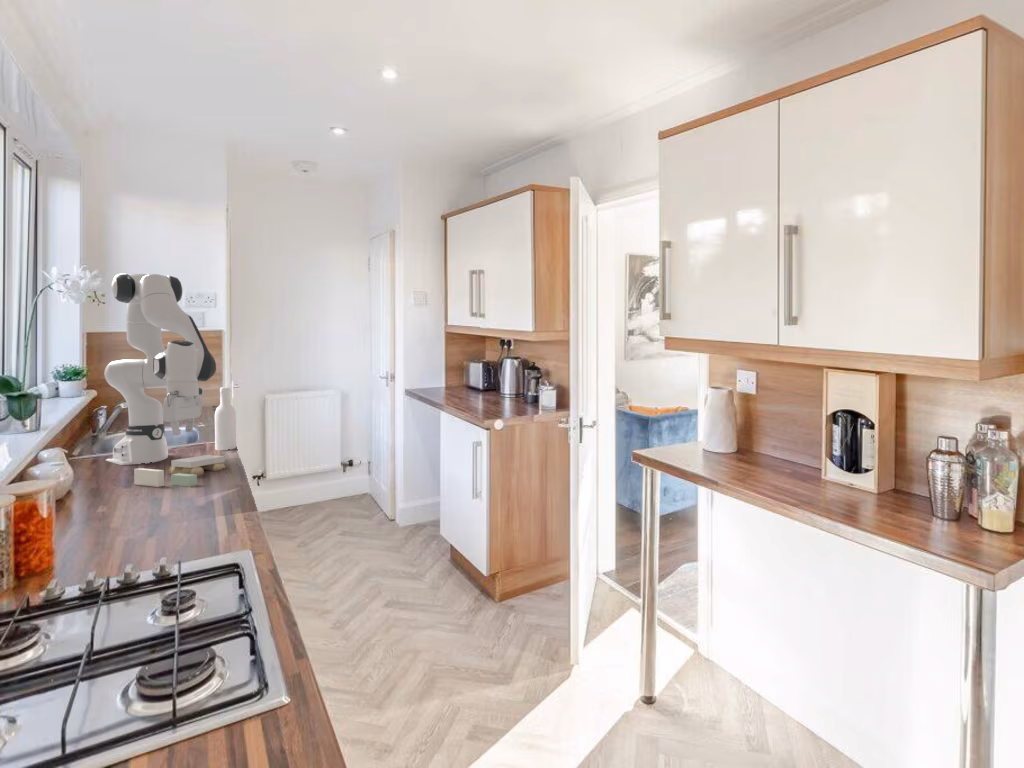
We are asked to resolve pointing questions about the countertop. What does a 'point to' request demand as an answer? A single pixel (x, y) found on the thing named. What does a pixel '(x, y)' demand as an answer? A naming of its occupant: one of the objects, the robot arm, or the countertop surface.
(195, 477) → the block
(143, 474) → the block
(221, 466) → the rail
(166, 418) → the robot arm
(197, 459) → the stone slab
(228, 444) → the bottle
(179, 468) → the rail
